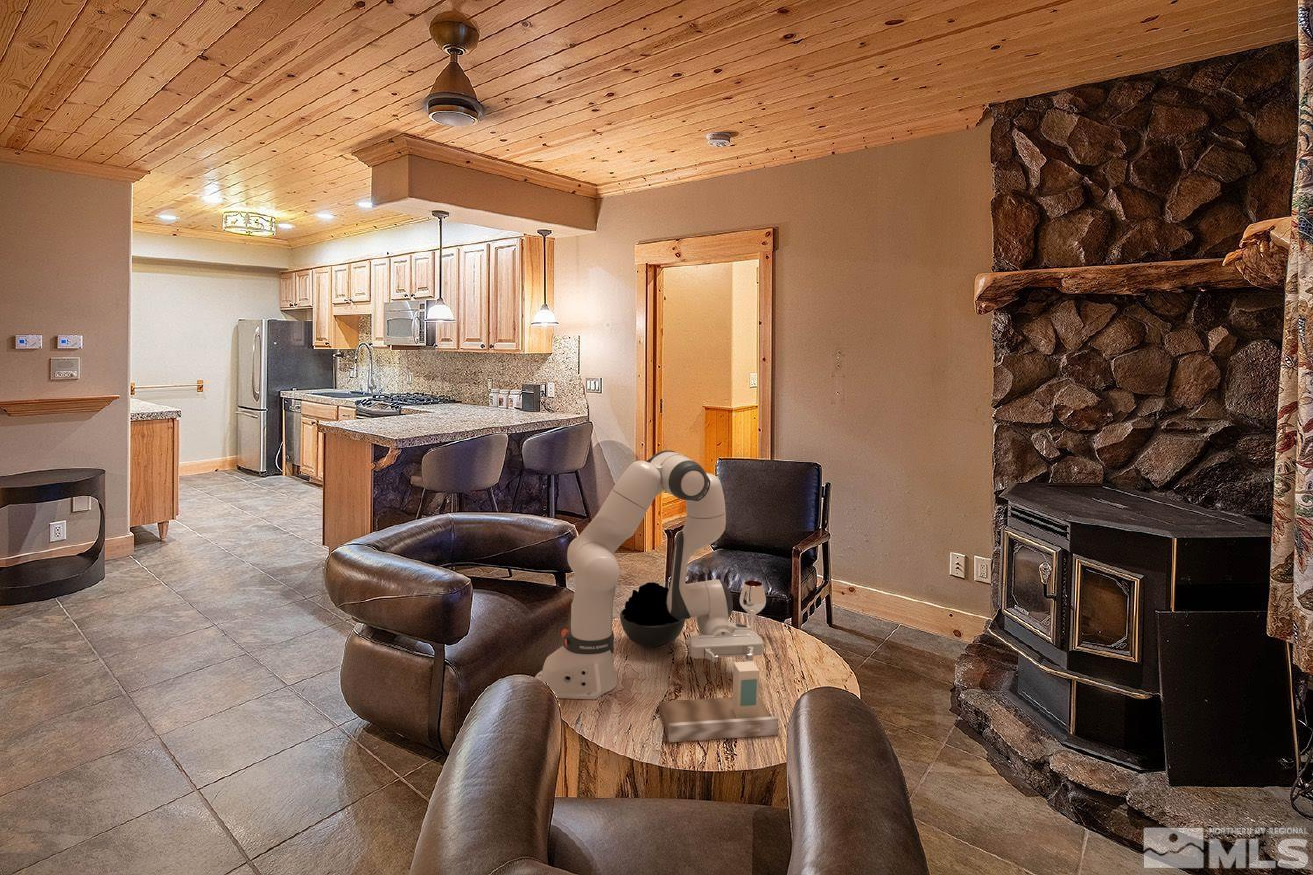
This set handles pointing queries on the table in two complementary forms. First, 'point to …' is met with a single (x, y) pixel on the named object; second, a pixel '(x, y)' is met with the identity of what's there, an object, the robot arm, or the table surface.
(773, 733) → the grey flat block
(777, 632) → the table surface
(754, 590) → the wineglass
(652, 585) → the coal bowl
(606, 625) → the robot arm
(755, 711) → the carton
